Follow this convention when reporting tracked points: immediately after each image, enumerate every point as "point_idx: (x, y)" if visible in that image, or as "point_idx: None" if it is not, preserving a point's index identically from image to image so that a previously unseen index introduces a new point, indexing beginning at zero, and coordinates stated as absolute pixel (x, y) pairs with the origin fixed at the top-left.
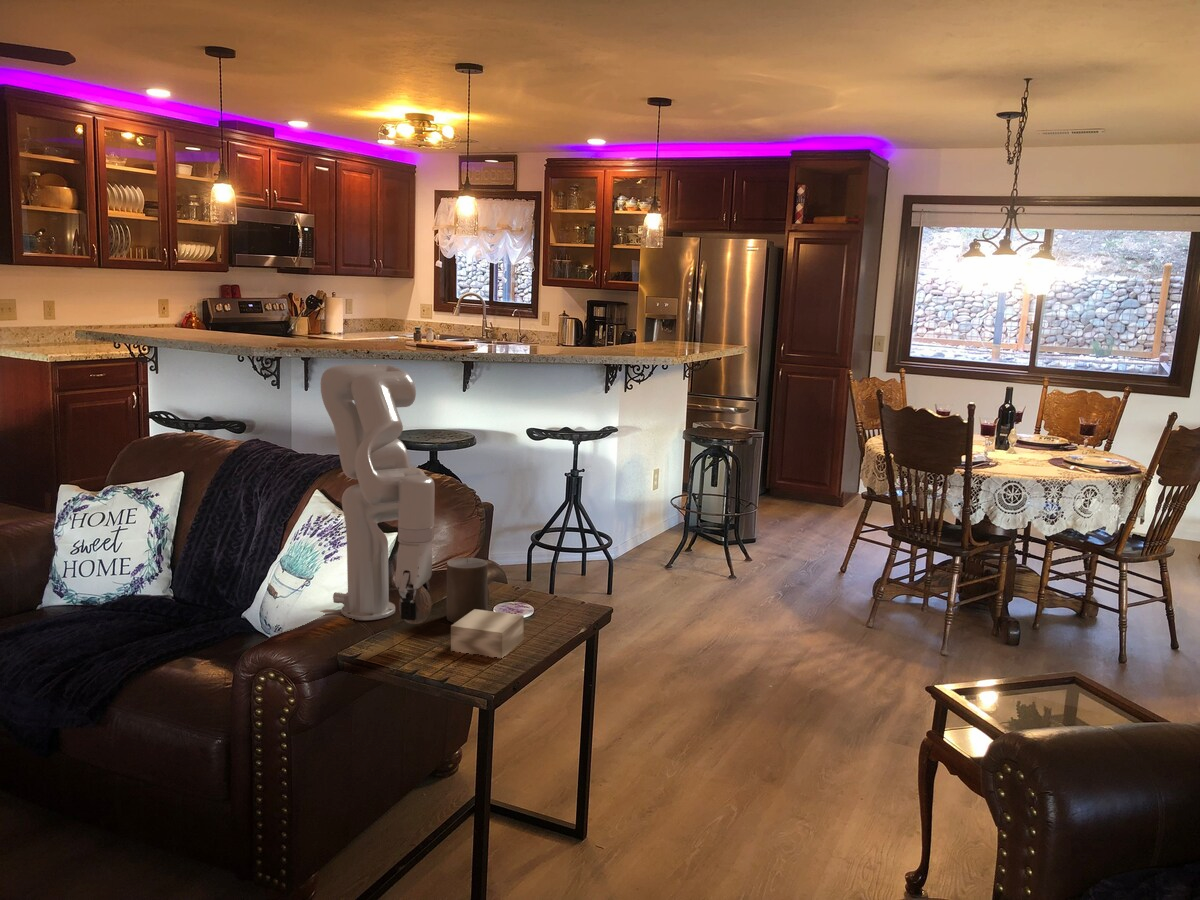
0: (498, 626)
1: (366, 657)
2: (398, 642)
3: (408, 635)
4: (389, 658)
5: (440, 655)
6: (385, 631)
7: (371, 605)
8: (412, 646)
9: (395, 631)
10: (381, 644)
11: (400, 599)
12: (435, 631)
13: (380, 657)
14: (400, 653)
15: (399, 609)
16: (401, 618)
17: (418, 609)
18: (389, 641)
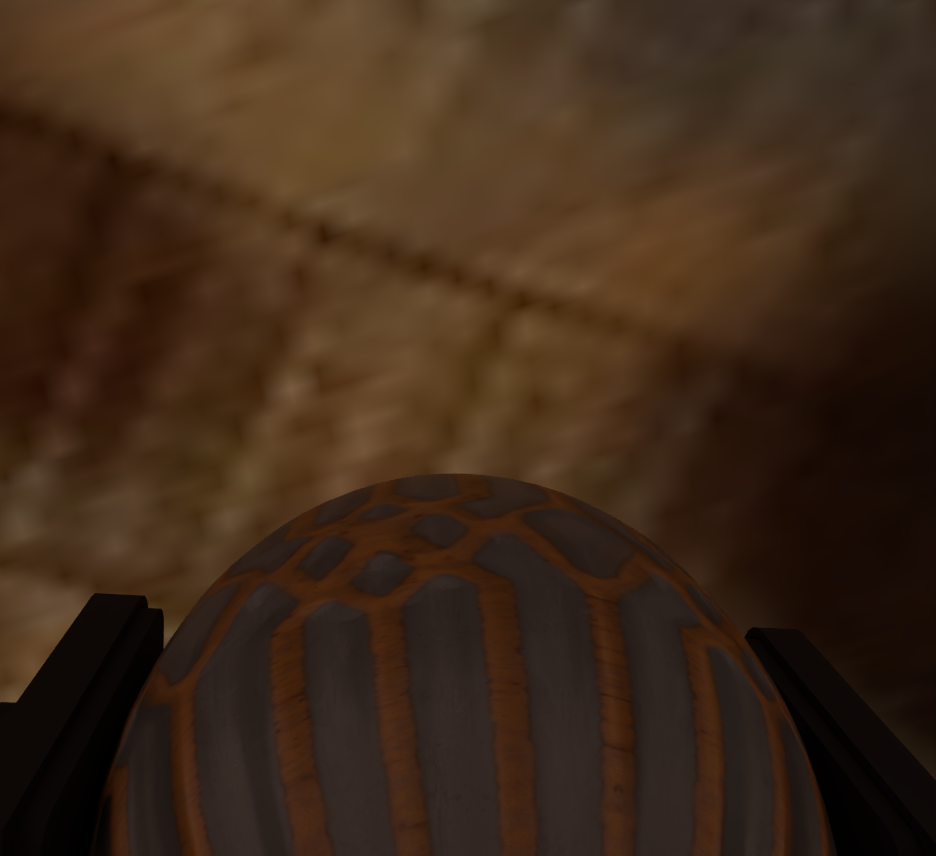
0: None
1: (12, 56)
2: (545, 285)
3: (763, 328)
4: (52, 335)
5: None
6: (874, 25)
7: None
8: (449, 467)
9: (878, 146)
10: (457, 108)
11: (261, 673)
12: (890, 561)
13: (55, 225)
14: (226, 407)
15: (277, 539)
16: (95, 597)
17: None
18: (563, 173)
